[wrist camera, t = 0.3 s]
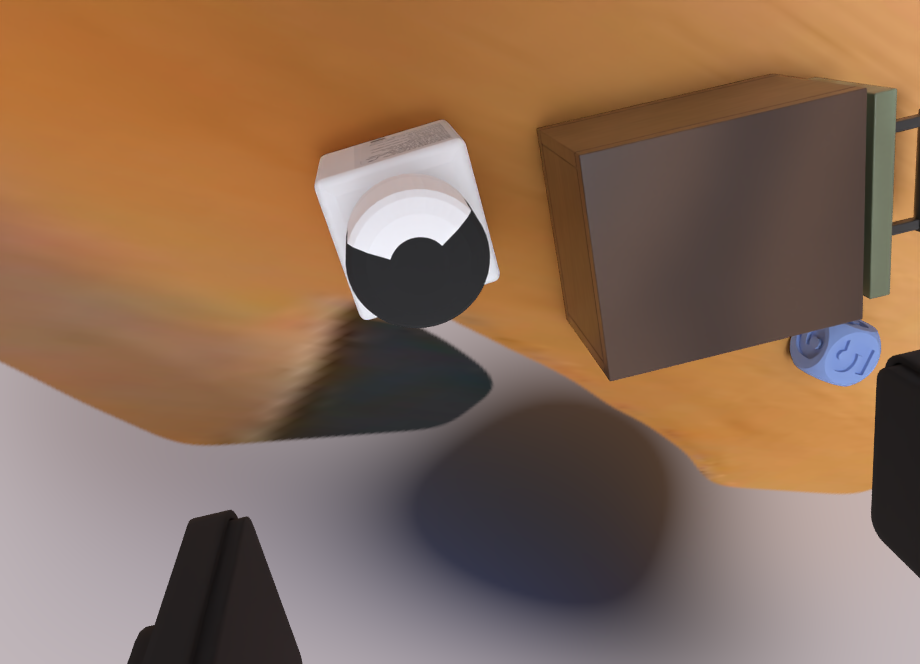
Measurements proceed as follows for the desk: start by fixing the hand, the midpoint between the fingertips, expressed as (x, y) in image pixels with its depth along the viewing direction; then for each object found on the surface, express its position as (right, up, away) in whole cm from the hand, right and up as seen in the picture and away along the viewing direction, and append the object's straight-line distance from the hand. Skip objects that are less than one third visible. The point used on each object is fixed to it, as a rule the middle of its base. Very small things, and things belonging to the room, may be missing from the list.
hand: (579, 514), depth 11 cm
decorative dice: (+23, +3, +42) cm, 48 cm away
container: (-5, +11, +34) cm, 36 cm away
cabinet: (+11, +11, +36) cm, 40 cm away
